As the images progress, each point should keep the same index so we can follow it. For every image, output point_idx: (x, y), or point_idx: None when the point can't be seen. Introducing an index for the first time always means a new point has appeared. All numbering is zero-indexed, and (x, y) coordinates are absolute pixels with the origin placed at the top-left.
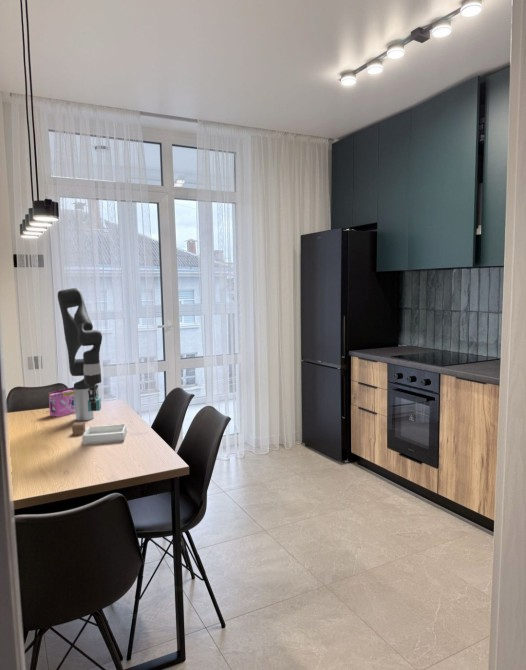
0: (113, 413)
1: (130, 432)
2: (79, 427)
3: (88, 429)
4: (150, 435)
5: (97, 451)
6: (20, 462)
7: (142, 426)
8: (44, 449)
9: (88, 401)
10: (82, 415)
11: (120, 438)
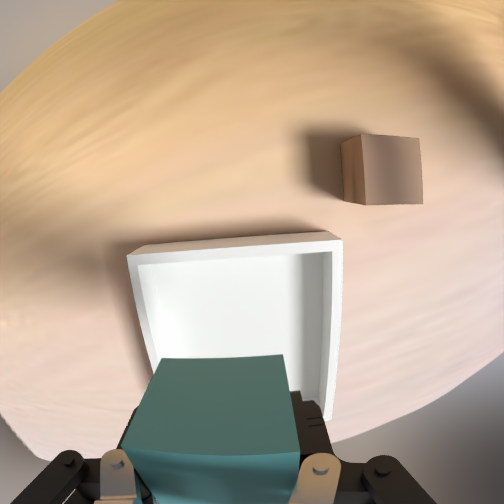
0: None
1: None
2: (358, 180)
3: (292, 252)
4: None
5: (69, 323)
6: (20, 80)
7: (370, 424)
8: (121, 79)
9: (128, 446)
10: None
11: None
